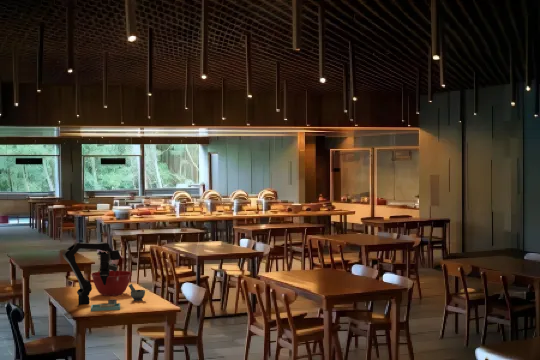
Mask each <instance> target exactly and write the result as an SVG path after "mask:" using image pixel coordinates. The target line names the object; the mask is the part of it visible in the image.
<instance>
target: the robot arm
mask: <svg viewBox="0 0 540 360" xmlns="http://www.w3.org/2000/svg"><path fill="white" fill-rule="evenodd" d="M80 249H82V250H84V249H85V250H89V249H90V250H98V252H97V253H96V255H98V256H99V258H100V260H99V261H100V262H99V266H100V268H99V269H100V270H99V272H100V277H101V279H102V282H103V284H104V285H106V280H107V277H108V276H109V273H110V271H115V272H116V271H118V265H117V264H116V263H113V264H110V261H119V260H120V259H121V253H120V250H119V249H114V250H113V249H112V248H111V246H110V244H109V243H108V242H104V241H102V242H96V243H95V242H93V243H89V242H77V241H76V242H75V243H73V245H70V247H68V248H67V249H64V250H63V251H62V252H61V255H62V257H63V259H64V260H65V261H66V262H67V263H68V264H69V266H70V268H71V270H72V272H73V274H74V276H75V277H76V279H77V281H78V287H79V289H78V290H76V294H77V295H78V297H77V298H78V302H77V303H78V304H77V306H81V305H89V304H90V293H91V292H92V289H93V287H92V286H93V285H92V284H91V281H90V280H89V279H86V278H85V276H84V274H83V272H82V271H81V269H80V267H79V265H78V264H77V261H76V257H75V255H76V253H78V251H79V250H80Z"/></svg>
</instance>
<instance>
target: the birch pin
mask: <svg viewBox="0 0 540 360" xmlns="http://www.w3.org/2000/svg"><path fill="white" fill-rule="evenodd" d="M100 307H115V305H114V304H109V305H100Z"/></svg>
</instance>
